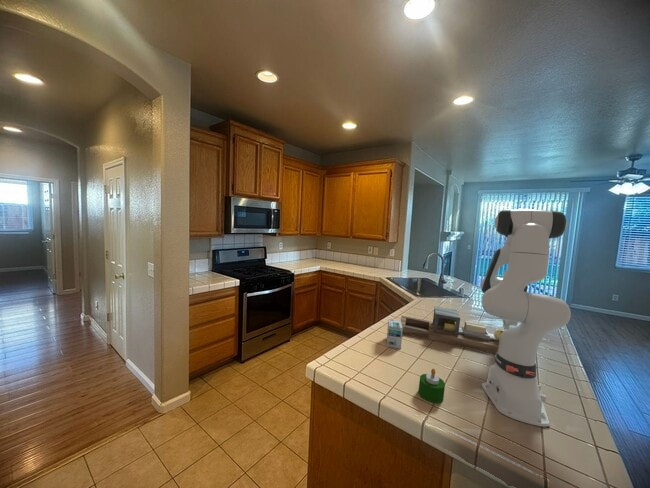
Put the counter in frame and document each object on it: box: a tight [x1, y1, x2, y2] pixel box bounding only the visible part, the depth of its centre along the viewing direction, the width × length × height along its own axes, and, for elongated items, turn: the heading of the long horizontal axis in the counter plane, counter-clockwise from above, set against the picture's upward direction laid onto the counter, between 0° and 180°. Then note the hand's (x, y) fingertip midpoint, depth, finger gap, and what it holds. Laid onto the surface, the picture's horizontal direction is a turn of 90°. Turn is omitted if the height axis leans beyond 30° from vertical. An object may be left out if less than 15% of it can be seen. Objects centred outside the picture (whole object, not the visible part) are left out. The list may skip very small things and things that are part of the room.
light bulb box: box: [386, 318, 403, 350], centre depth 129 cm, size 11×7×11 cm, turn 169°
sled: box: [442, 319, 505, 341], centre depth 137 cm, size 9×32×4 cm, turn 69°
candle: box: [417, 368, 446, 404], centre depth 91 cm, size 8×8×10 cm
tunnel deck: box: [400, 306, 499, 355], centre depth 142 cm, size 18×54×14 cm, turn 69°
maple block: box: [463, 320, 487, 334], centre depth 137 cm, size 6×9×6 cm, turn 69°
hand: (505, 328), depth 132 cm, fingers closed
